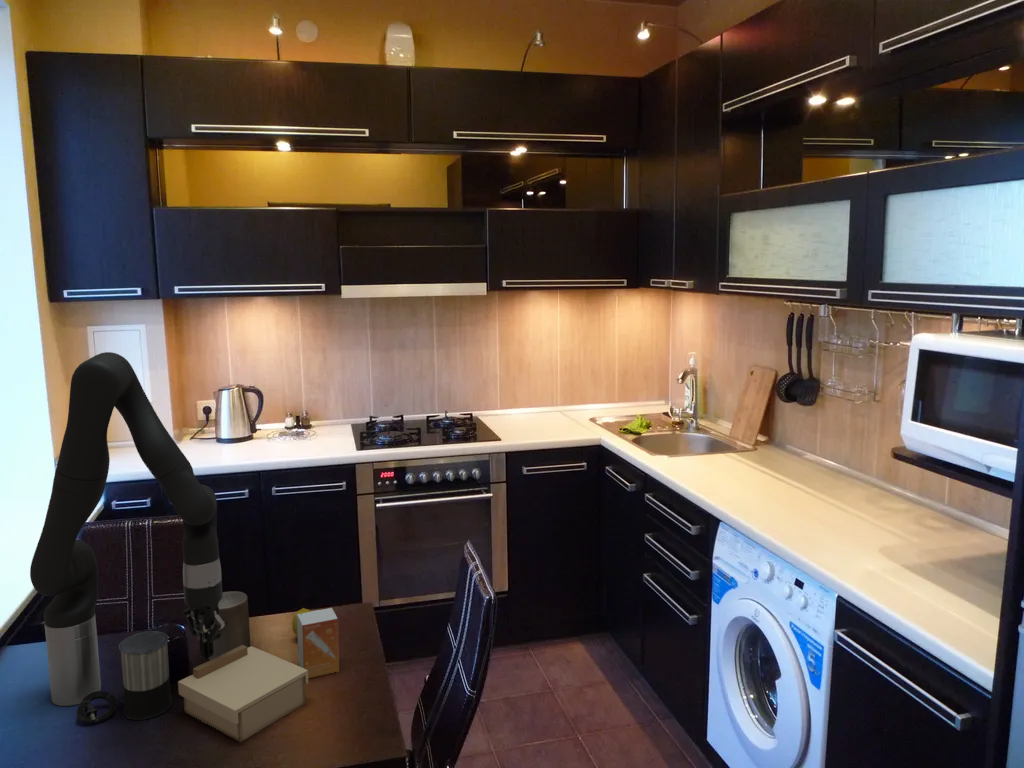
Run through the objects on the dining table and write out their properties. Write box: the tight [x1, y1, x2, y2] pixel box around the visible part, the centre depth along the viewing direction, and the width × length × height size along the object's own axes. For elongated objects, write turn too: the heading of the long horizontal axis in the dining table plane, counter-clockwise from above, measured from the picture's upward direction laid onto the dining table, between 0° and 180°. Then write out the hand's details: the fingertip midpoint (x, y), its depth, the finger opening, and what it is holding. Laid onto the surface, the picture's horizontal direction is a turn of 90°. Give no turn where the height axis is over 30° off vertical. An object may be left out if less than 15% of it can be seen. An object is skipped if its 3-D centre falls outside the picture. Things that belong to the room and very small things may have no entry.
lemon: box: [291, 607, 312, 638], centre depth 186 cm, size 6×6×8 cm
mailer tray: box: [183, 676, 306, 743], centre depth 156 cm, size 18×16×6 cm
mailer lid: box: [177, 645, 309, 724], centre depth 156 cm, size 18×18×5 cm
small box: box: [297, 607, 340, 679], centre depth 171 cm, size 8×6×13 cm
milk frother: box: [76, 630, 173, 724], centre depth 154 cm, size 14×16×15 cm
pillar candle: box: [208, 590, 251, 661], centre depth 178 cm, size 10×10×15 cm
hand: (207, 656), depth 162 cm, fingers closed
